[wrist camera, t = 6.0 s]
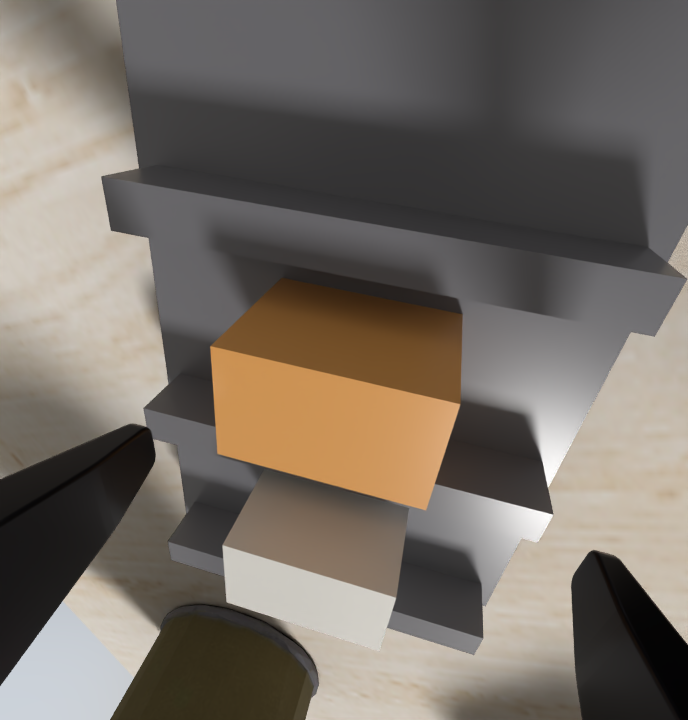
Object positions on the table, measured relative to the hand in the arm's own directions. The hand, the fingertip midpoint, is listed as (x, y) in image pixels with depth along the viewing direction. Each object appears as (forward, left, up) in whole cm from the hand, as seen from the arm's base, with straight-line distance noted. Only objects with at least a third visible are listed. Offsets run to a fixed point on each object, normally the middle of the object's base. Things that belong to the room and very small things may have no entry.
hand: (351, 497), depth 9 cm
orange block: (+1, -1, -5) cm, 5 cm away
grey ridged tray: (+1, -1, -6) cm, 6 cm away
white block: (+1, +6, -5) cm, 8 cm away
